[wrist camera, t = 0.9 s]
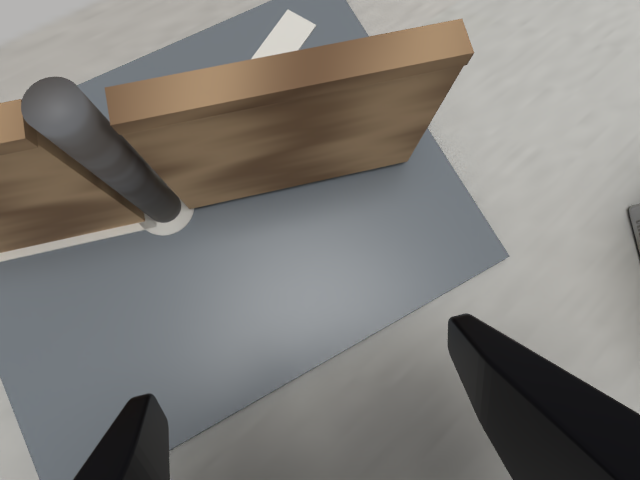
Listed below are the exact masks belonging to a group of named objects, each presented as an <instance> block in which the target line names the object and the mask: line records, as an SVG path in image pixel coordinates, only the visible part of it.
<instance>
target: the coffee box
mask: <svg viewBox="0 0 640 480" xmlns="http://www.w3.org/2000/svg"><path fill="white" fill-rule="evenodd" d="M629 214H630V218H631V222H632V226H633V230H634V233H635V237H636V241H637V245H638V249H639V253H640V204H636V205H632V206H630V208H629Z"/></svg>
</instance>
